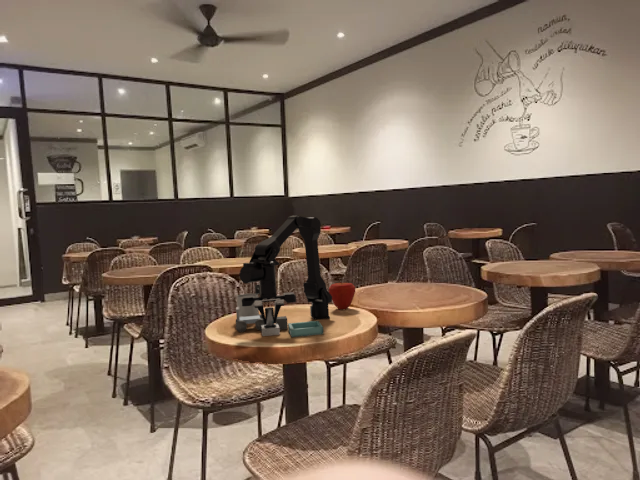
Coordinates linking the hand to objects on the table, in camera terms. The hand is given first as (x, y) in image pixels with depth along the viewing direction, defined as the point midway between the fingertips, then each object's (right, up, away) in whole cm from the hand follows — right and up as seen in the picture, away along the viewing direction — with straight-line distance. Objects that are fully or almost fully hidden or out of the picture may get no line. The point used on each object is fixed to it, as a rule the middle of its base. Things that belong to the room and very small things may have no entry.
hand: (270, 323), depth 170 cm
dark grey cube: (+4, -3, +7) cm, 8 cm away
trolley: (-7, -3, +9) cm, 12 cm away
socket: (0, -4, 0) cm, 4 cm away
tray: (+12, -3, -1) cm, 13 cm away
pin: (0, -4, 0) cm, 4 cm away
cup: (-11, -3, +24) cm, 26 cm away
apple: (+27, 0, +36) cm, 45 cm away
